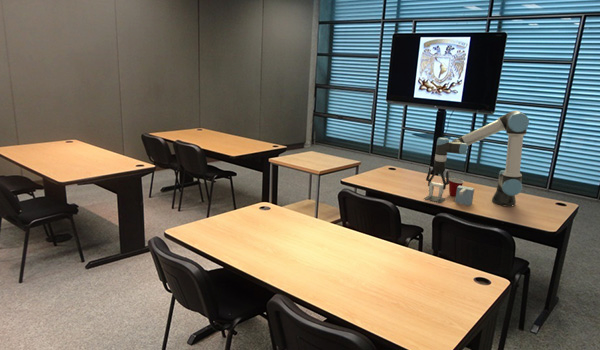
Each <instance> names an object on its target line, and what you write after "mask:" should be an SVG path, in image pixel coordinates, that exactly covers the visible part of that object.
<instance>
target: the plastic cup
mask: <svg viewBox="0 0 600 350" xmlns="http://www.w3.org/2000/svg"><path fill="white" fill-rule="evenodd" d="M464 183H465V181H464V180H463V179H460V178H457V177H456V178H455V177H449V184H448V187H449V188H448V189H449V190H448V191H449V193H448V194H449V196H450V197H453V198H454V197H455V198H456V192H457V187H458V186H459V185H460V186H463V184H464Z"/></svg>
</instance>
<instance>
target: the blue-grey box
mask: <svg viewBox="0 0 600 350" xmlns="http://www.w3.org/2000/svg"><path fill="white" fill-rule="evenodd" d="M474 194H475V187H469V186H464V185H462V186H460V185H459V186H458V187H457V192H456V197H455V199H454V203H455V202H456V203H455V204H461V205H464V206H469V207H470V206H471V205H472V204H473V199H474Z"/></svg>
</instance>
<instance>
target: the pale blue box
mask: <svg viewBox="0 0 600 350" xmlns="http://www.w3.org/2000/svg"><path fill="white" fill-rule="evenodd" d="M442 185H443V183H440V182H434V181H431V183H430V190H429V189H428V195H429V197H432V196H434V195H433V194H434V187H437V188H438V194H437V197H438V199H441V198H443V194H441V191H442Z"/></svg>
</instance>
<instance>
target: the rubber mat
mask: <svg viewBox="0 0 600 350" xmlns="http://www.w3.org/2000/svg"><path fill="white" fill-rule="evenodd" d="M424 199H425V200H424ZM445 199H446V200H447V198H446V197H442V198H441V199H438V195H433V196H432V197H429V194H428V195H426V196H425V197H424V198H423V200H424V201H428V200H430V201H429V202H433V201H434V202H433V203H437V202H438V203H437V204H442V203H443V202H444V201H446V200H445Z"/></svg>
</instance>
